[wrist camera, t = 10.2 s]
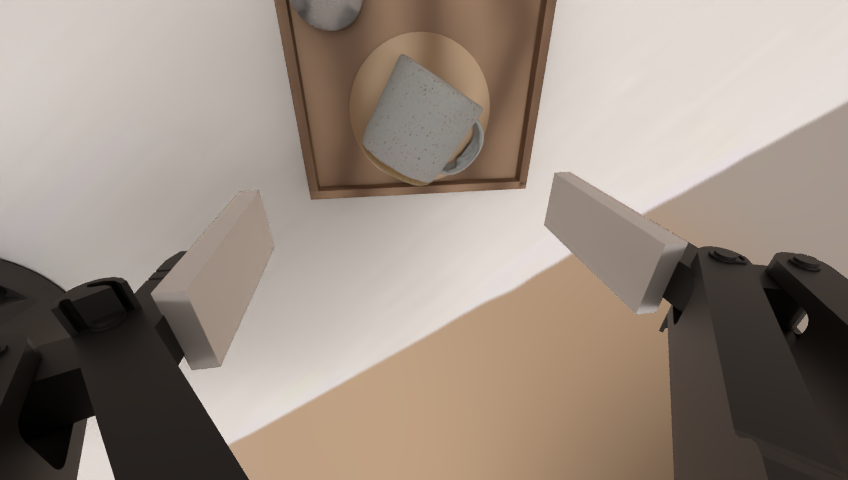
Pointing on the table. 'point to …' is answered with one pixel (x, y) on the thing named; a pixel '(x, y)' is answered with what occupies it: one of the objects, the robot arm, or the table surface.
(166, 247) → the table surface
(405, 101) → the ceramic mug
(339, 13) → the sugar tin
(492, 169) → the tray
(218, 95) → the table surface
